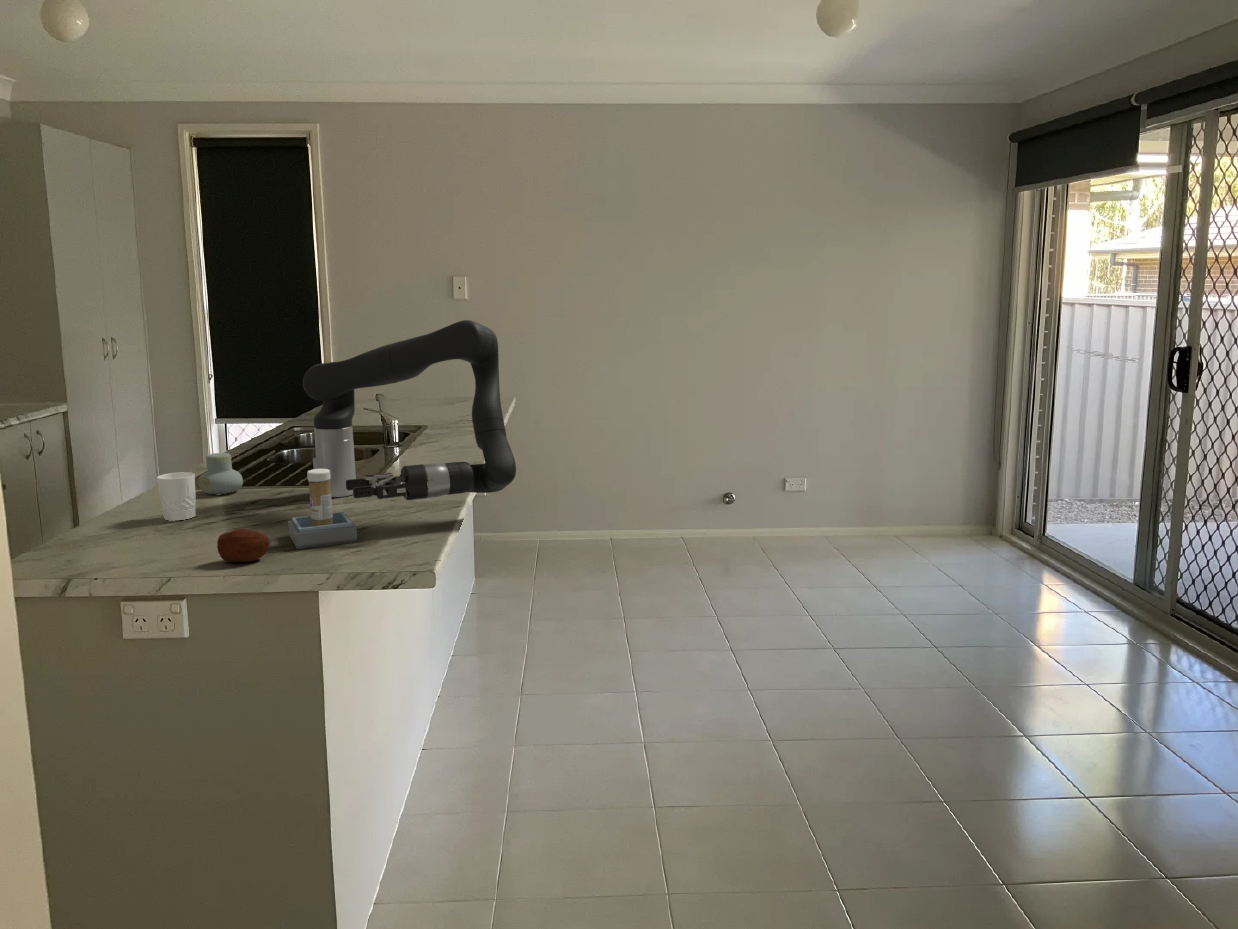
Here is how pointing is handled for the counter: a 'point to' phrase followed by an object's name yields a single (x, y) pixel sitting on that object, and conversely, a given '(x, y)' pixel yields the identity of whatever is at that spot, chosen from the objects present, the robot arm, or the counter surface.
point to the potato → (242, 545)
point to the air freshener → (220, 475)
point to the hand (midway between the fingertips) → (349, 489)
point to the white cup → (177, 495)
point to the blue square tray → (322, 531)
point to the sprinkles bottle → (320, 497)
